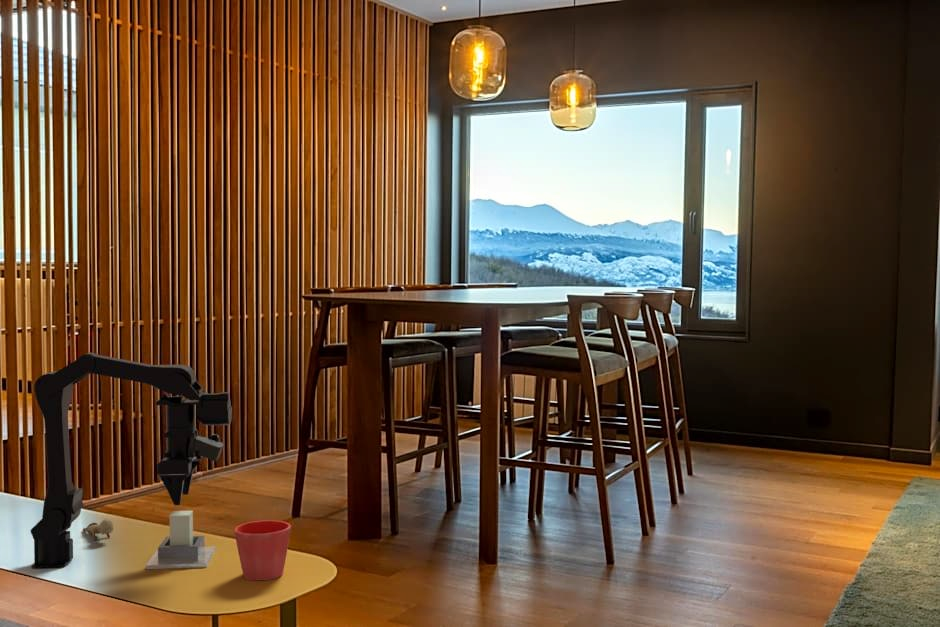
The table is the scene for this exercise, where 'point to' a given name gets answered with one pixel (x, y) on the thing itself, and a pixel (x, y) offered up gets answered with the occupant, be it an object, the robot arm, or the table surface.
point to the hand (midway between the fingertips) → (181, 499)
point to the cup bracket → (181, 555)
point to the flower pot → (262, 548)
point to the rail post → (181, 528)
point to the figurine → (100, 528)
